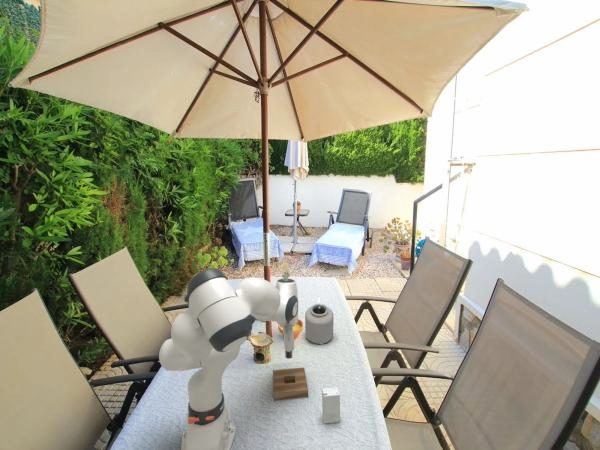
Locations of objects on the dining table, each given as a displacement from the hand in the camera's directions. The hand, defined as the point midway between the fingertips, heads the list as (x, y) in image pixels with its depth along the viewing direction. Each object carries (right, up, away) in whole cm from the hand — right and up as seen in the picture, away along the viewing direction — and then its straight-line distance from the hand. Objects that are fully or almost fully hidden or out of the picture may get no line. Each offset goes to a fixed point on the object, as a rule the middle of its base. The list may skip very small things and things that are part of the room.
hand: (288, 347), depth 133 cm
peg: (0, -4, +1) cm, 4 cm away
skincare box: (+16, -22, -13) cm, 30 cm away
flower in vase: (-5, +1, +93) cm, 93 cm away
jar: (+15, -11, +38) cm, 42 cm away
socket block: (0, -18, +4) cm, 19 cm away
